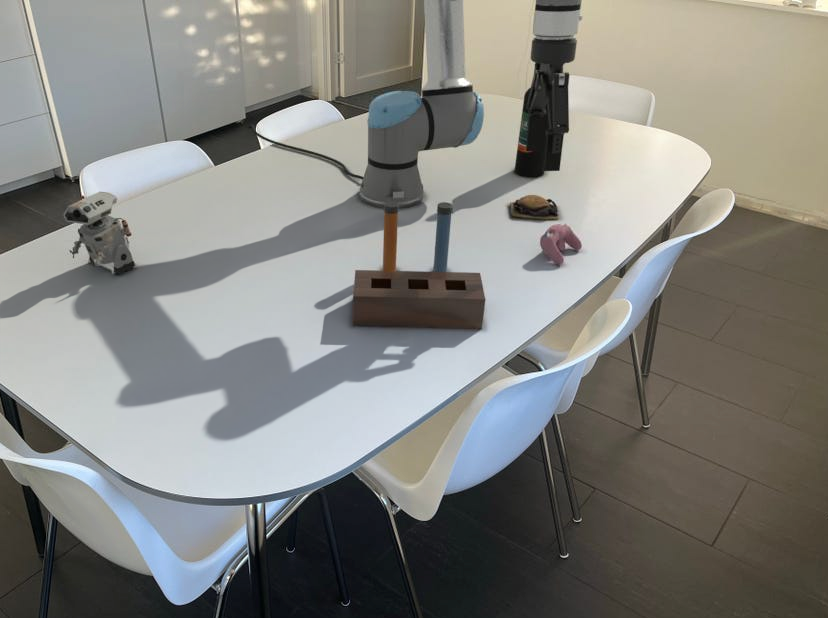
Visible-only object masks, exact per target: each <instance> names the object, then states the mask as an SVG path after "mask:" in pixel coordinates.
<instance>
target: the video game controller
mask: <svg viewBox="0 0 828 618" xmlns="http://www.w3.org/2000/svg"><path fill="white" fill-rule="evenodd" d="M539 245H540V248H541V250H542V251H543V252H544V253H545V254H546V256H547V257H548V258H549V260H551V262H553V264H555V265H559V266H561V265H563V264H564V261H565V260H564V259H565V257H564V256H563V254H562V253H561V252H563V251H564V250H565V248H566V245H568V246H569V247H570V248H571V249H573V250H575V251H580V250H581V249H582V247H583V244H582V242H581V240H580V238H579V237H578V236H577V235H576V234H575V232H574V230H572V228H571V226H569V225H568V224H567V223H557V224H554V225H553V224H552V225H551V226H549V228H547V229H546V231H545V232H544V234H542V235H541V236H540V239H539Z"/></svg>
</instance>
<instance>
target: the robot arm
mask: <svg viewBox="0 0 828 618" xmlns="http://www.w3.org/2000/svg"><path fill="white" fill-rule="evenodd" d="M581 6H582V0H535V6H534V12H533V24H532V34H533V35H534V36H535V37H534V38H533V39H532V40H531V49H530V60H531V61H532V62H533V63H534V69H533V76H532V81H531V84H530V87H531V89H530V93H529V97H528V102H527V106H526V107H527V109H529V111H528V113H529V115H531V116H529V122H528V133H527V143H526V151H541V142H542V132H543V123H544V116H543V115H542V114H546V110H545V109H544V108H545V105H546V103H547V109H548V120H549V130H547V131H546V133H545V134H546V135H547V141H546V150H545V160H544V169H543V170H544V171H545V172H560V171H561V163H562V162H561V161H562V153H563V144H564V137H565V136H564V135H565V134H568V133H569V132H570V109H569V108H570V106H569V105H570V103H569V101H570V100H569V85H570V73H569V72H564V65H565V64H569V63H573V62H574V61H575V59H576V52H577V43H578V40H577V38H575V37H574V36H576V35H578V32H579V26H580V25H579V24H580V22H581V21H582V20H583V15H582V14H581ZM423 11H424V31H425V32H424V33H425V47H426V48H425V49H426V50H425V52H426V53H425V54H426V70H427V81H426V83H425V84H424V85H423V87H422V88H421V95H420V94H419V93H418V92H416V91H412V90H403V91H402V90H395V91H390V92H385V93H383V94H379V95H378V96H376V97H375V98H374V99H372V100H371V102H370V103H369V108H368V115H367V116H368V117H367V122H366V123H367V165H366V168H365V171H364V175H363V176H362V175H359V174H355V173H352V172H351V171H349V170H348V168H347V166H346V165H345V164H344V163H342V162H341V161H339V160H337V159H335V158H332V157H330V156H328V155H325V154H322V153H319V152H315V151H312V150H309V149H304V148H301V147H296V146H293V145H289V144H285V143H283V142H282V143H281V142H278V141H275V140H272V139H270V138H268V137H266V136H264V135H262V134H260V133H258V131H256V129H255V126H254V125H253V124H249V125H248V129H251V130H252V132H253V134H255V135H256V136H257V137H258V138H259V139H262V140H264V141H265V142H269V143H271V144H274V145H277V146H280V147H283V148H287V149H289V150H290V149H291V150H294V151H299V152H303V153H306V154H309V155H314V156H317V157H320V158H323V159H326V160H328V161H331V162H333V163H335V164H337V165H339V166H340V167H341V168H342V169H343V171H344V172H345V173H346V174H347V175H348V176H349V177H352V178H355V179H356V178H357V179H359V180H361V183H360V186H359V197H360V198H359V199H361V200H362V202H364V203H366V204H368V205H370V206H373V207H378V208H383V209H384V203H385V202H389V201H394V202H397V203H398V204H399V209H402V208H409V207H412V206H414V205H417V204H420V202H422V200H424V193H425V192H424V191H425V190H424V184H423V183H422V179H421V174H420V170H419V166H418V165H419V164H418V163H419V162H418V160H419V152H424V151H433V150H441V149H447V148H458V147H461V146H468V145H470V144H472V143H474V141H476V139H477V138H478V137H479V135H480V133H481V130H482V128H483V124H484V119H485V107H484V103H483V101H482V100H483V99H482V97H481V95H480V94H479V93H478V92H475V91H474V86H473V85H474V84H473V83H472V82H471V81H470V80H469V79H468V78H467V76H466V47H465V45H466V44H465V19H464V18H465V17H464V14H465V13H464V0H423ZM540 115H542V116H540Z"/></svg>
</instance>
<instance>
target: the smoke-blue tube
mask: <svg viewBox="0 0 828 618" xmlns="http://www.w3.org/2000/svg"><path fill="white" fill-rule="evenodd" d="M453 206H454V205H453V204H452V203H451V202H447V201H442V202H439V203H437V208H436V209H437V210H436V212H437V214H436V228H435V241H434V242H435V243H434V255H433V256H434V257H433V269H432V272H448V269H447V268H448V261H449V260H448V259H449V247H450V236H451V223H452V214H453Z"/></svg>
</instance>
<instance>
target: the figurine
mask: <svg viewBox="0 0 828 618" xmlns="http://www.w3.org/2000/svg"><path fill="white" fill-rule="evenodd" d="M80 198H81V199H80V200H78V201H76V202H74V203H72V204H70V205H68V206H67V208H66V210H65V211H64V212H63V214H62V216H63V218H64V219H65V221H66V222H68V223H73V224H78V225H80V227H79V228H78V229H77V233H78V235H79V237H78V240H75V241H74V242H73V245H74V246H73V247H72V250H71V249H69V253H70V254H72V259H75V255H78V254H79V249H80V248H81V247H82V245H81V244H83V245H84V246H85V249H86V251H87V253H88V256H89V257H88V265H91V264H92V263H93V264H94V266H95V267H100V266H101V265H107V264H113V273H114V274H117V275H119V276H120V275H122V274H124V273H126V271H130V270H133V269H134V267H136V263H135V260H133V255H132V252H131V251H130V241H129V239H128V237H131V236H132V235H133V234H132V232H131V230H130V227H129V224H128V222H127V220H126V219H124V218H122V217H114V216H111V214H112V210H113V205H115V204H117V203H118V197H117V196H116V195H114V194H112V193H111V192H108V191H107V192H106V191H98V192H96V193H93V194H91V195H89V196H86V197H85V195H81V196H80ZM120 220H121V221H120Z"/></svg>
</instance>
